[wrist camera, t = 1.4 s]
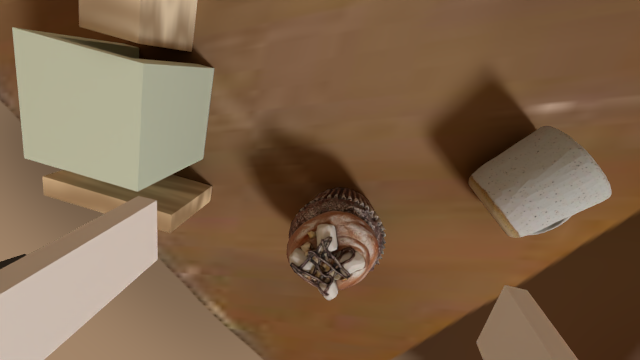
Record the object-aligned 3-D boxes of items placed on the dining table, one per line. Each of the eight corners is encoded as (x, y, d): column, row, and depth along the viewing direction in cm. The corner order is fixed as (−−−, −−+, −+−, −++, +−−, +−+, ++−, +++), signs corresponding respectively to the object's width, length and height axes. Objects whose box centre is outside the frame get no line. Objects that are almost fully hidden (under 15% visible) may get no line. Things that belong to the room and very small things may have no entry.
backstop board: (109, 155, 36) (42, 176, 29) (212, 186, 36) (171, 214, 28) (109, 171, 37) (43, 195, 29) (210, 201, 36) (170, 233, 29)
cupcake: (351, 269, 37) (347, 335, 27) (284, 226, 36) (256, 279, 27) (401, 211, 33) (416, 263, 24) (328, 162, 33) (314, 196, 23)
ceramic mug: (453, 170, 31) (481, 198, 24) (529, 118, 29) (585, 133, 22) (509, 241, 33) (551, 288, 26) (585, 198, 31) (654, 237, 23)
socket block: (123, 43, 32) (12, 27, 22) (214, 68, 31) (143, 63, 21) (121, 135, 35) (24, 158, 25) (203, 158, 35) (137, 191, 25)
